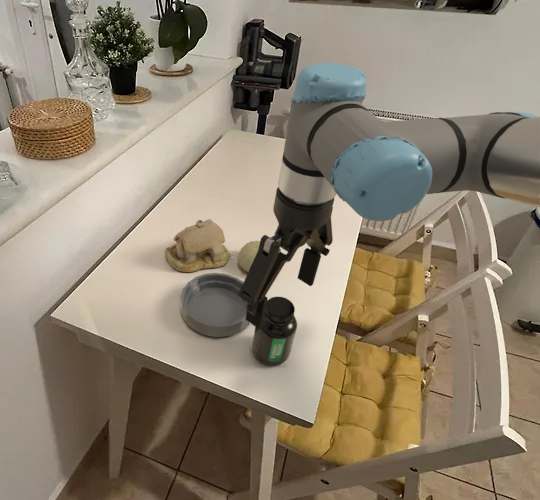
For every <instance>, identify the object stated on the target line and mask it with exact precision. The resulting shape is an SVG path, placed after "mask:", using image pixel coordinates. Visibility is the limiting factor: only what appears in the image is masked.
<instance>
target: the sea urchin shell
mask: <svg viewBox="0 0 540 500" xmlns="http://www.w3.org/2000/svg"><path fill="white" fill-rule="evenodd" d="M259 244H260V240H251V241H249V242H247V243H245V244H244V245H243V246H242V247H241V249H240V251H239V252H238V256H237V263H238V266H240V267H241V268H242V270H244V271H245V272H247V273H248V272H249V269H250V267H251V265H252V263H253V260H254V258H255V256H256V254H257V252H258V249H259Z"/></svg>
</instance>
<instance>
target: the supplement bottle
mask: <svg viewBox="0 0 540 500" xmlns="http://www.w3.org/2000/svg"><path fill="white" fill-rule="evenodd" d="M295 311H296V308H295V304H294V303H293V302H292V301H291V300H290V299H288V298H286V297H283V296H273V297H270V298H268V299H267V304H266V309H265V314H264V319H263V324H262V327H261V328H260V329H258V328H256V327H255V326H254V332H253V338H252V342H251V343H252V344H251V351H252V354H253V356H254V358H255V359H256V360H257V361H258V362H260V363H261V364H263V365H265V366H269V367H270V366H271V367H277V366H281V365H282V364H285V363H286V362H287V361H288V359H289V357H290V354H291V350H292V347H293V344H294V340H295V336H296V332H297V330H298V329H297V328H298V321H297V318H296V315H295Z"/></svg>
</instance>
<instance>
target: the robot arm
mask: <svg viewBox="0 0 540 500" xmlns="http://www.w3.org/2000/svg"><path fill="white" fill-rule="evenodd" d="M296 77H297V78H296V81H295V86H294V90H293V94H292V97H291V98H290V103H291V104H290V108H289V115H288V122H287V128H286V134H285V141H284V147H283V153H282V158H281V166H280V171H279V177H278V181H277V188H276V192H275V196H274V201H273V209H272V210H273V214H274V216H275V219H276V221H277V223H278V225H277V228H276V230H275V231H274V235H272V236H268V235H267V234H264V235H262V236H261V238H260V240H259V241H260V244H259V249H258V252H257V254H256V256H255V258H254V260H253V263H252V265H251V267H250V269H249V272H247V274H246V276H245V278H244V280H243V282H244V283H243V285H242V287H241V289H240V291H239V294H238V296H239V297H241V298H242V299H243V300H245V301H246V302H247V313H246V320H247V321H248V322H249V324H251V325H252V326H253V327H254V328H255V327H256V328H258V329H260V328H261V327H262V324H263V319H264V314H265V309H266V304H267V300H269V298H268V297H267V294H268V293H269V291H270V289H271V288H272V286H273V284H274V282H275V281H276V280H277V277H278V276H279V274H280V273H281V271H282V269H283V267H284V266H285V264H286V263H289V262H291V261H292V260H293V257H294V256H295V254H296V253H297V251H298V250H299V249H300V248H302V247H303V246H305V245H307V246H308V247H306V248H305V249H304V250H303V254H302V258H301V262H300V266H299V270H298V271H299V272H298V274H297V279H298V280H300V281H301V282H302V283H304V284H306V285H307V286H308V287H312V286H313V285H314V282H315V279H316V276H317V274H318V273H317V272H318V269H319V266H320V262H321V258H322V255H323V256H324V257H327V256H328V255H329V254H330V251H331V249H329V248H327V247H326V246H328V247H329V246H331V245H332V243H333V240H334V239H333V226H332V214H333V210H334V203H335V197H336V196H338V198H339V199H340V200H342V202H345V203H346V204H347V205H348V206H349V207H350V208H351V209H352V210H353V211H354V212H355V213H356V214H357V215H358V216H360V217H362V218H363V219H365V220H368V221H372V222H388V221H392V220H394V219H396V217H397V216H398V215H400V214H407V213H410V212H411V211H412V210H413V209H414V208H416V207H417V206H418V205H419V204H420V203H421V202H422V201H423V199H424V198H425V197H426V195H434V194H441V193H450V192H451V193H452V192H462V191H463V192H464V191H468V192H476V193H481V194H484V195H489V196H492V197H497V198H500V199H504V200H510V201H513V202H518V203H522V204H525V205H529V206H533V207H537V208H540V116H537V115H535V114H533V113H529V112H516V111H496V112H490V113H486V114H477V115H476V114H475V115H466V116H454V117H453V116H452V117H434V118H418V119H403V120H391V121H386V120H381V119H380V118H379V117H378V116H376V115H375V114H374V113H372V112H371V111H370V110H368V109H367V107H365V106H364V105H363V103H364V100H365V98H366V91H367V84H368V80H367V76H366V74H365V73H364V72H363V71H362V70H361V69H359V68H357V67H355V66H352V65H349V64H343V63H338V62H316V63H313V64H309V65H307V66H305V67H303V68H302V69H301V70H300V71H299V73H298V75H297V76H296ZM281 249H282V250H284V251H286V252H287V253H284V252H282V250H281Z"/></svg>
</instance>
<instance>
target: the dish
mask: <svg viewBox="0 0 540 500" xmlns="http://www.w3.org/2000/svg"><path fill="white" fill-rule="evenodd" d="M243 283H244V280H242V279H240V278H239V277H236V276H234V275H231V274H227V273H221V272H209V273H203V274H201V275H198V276H194V278H192V279H191V280H189V281H188V282H187V283H186V285H185V286H184V287H183V288H182V291H181V295H180V311H181V316H182V318H183V319H184V322H185V323H186V324H187V326H189V327H190V328H191V329H192V330H194V331H195V332H197V333H199V334H201V335H203V336H207V337H213V338H214V337H215V338H222V337H223V338H224V337H230V336H234V335H236V334H238V333H240V332H242V331H243V330H244V329H245V328H246V327H248V326H249V324H250V322H248V321H247V320H246V313H247V302H246V301H245V300H243V299H242V298H241V297H239V296H238V294H239V291H240V289H241V287H242V285H243Z"/></svg>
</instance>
